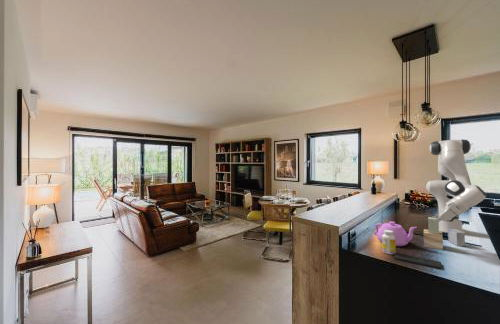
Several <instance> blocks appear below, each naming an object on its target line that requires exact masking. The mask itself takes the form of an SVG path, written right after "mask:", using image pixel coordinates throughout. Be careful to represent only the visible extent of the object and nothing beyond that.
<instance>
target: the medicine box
mask: <svg viewBox="0 0 500 324" xmlns="http://www.w3.org/2000/svg"><path fill="white" fill-rule="evenodd" d="M465 234H466V233H464V232H461V231H459V230H456V229H448V233H447V235H448V243H451V244H453V245H455V246H457V247H466V238H465V237H466V235H465Z"/></svg>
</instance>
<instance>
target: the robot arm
mask: <svg viewBox="0 0 500 324" xmlns="http://www.w3.org/2000/svg"><path fill="white" fill-rule="evenodd" d="M428 147H429V148H428V149H429V152H430V154H431V155H432V156H433V155H434V156H438V157H437V173H438V174H439V175H441V176H442V177H445V178H448V179H447V180H445V179H444V180H441V179H436V180H435V179H434V180H428V182H427V183H426V185H425V188H426V191H427V192H428V193H429V194H431V195H432V196H434V198H435V199H436V201H437V206H438V207H437V209H438V211H437V214H436V215H435V216H434V217H433V218H437V219H435V220H433V222H434V223H438V222H439V231H440V232H442V233H447V234H448V229H456V230H459V231H461V232H464V233H465V234H467V233H466V231H465V230H464V229H463V222H462V221H461V220H460V215H462V214H464V213H465V212H467V211H469V209H470V208H472V207H475V206H477V205H478V204H479V203H481V202H483V201H484V200H485V199H486V198H487V193H486V192H485V190H483V189H482V188H481V187H480V186H478V185H475V184H472V182H471V179H470V176H469V172H468V168H467V164H466V160H465V155H466V154H469V152H470V150H471V147H472V145H471V143H470V141H469V140H468V139H462V138H461V139H446V140H438V141H437V140H436V141H432V142H431V143H430V145H429V146H428ZM447 195H449V196H451V197H452V198H449V197H448V196H447Z"/></svg>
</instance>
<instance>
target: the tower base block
mask: <svg viewBox="0 0 500 324" xmlns="http://www.w3.org/2000/svg"><path fill="white" fill-rule="evenodd" d="M423 247H425V248H430V249H436V250H442V251H443V250H444V242H443V243H441V242H435V241H429V240H424V239H423Z"/></svg>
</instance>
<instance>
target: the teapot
mask: <svg viewBox="0 0 500 324" xmlns="http://www.w3.org/2000/svg"><path fill="white" fill-rule="evenodd" d="M378 226H380V227H379V229H378ZM374 227H375V231H374V235H375V236H376V237H377V239H378V240H379V242H381V243H382V235H383V234H384V230H391V231H393V236H395V243H396V247H404V246H407V245H408V244H409V242H411V240H413V238H414V230H415V229H416V228H417V226H411V227H410V228H409V230H408V233H407V231H406V230H405V229H404V227H403V226H402V225H401V224H397V223H396V221H393V220H392V221H389V222H385V223H381V222H380V223H379V222H378V223H375V226H374Z"/></svg>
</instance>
